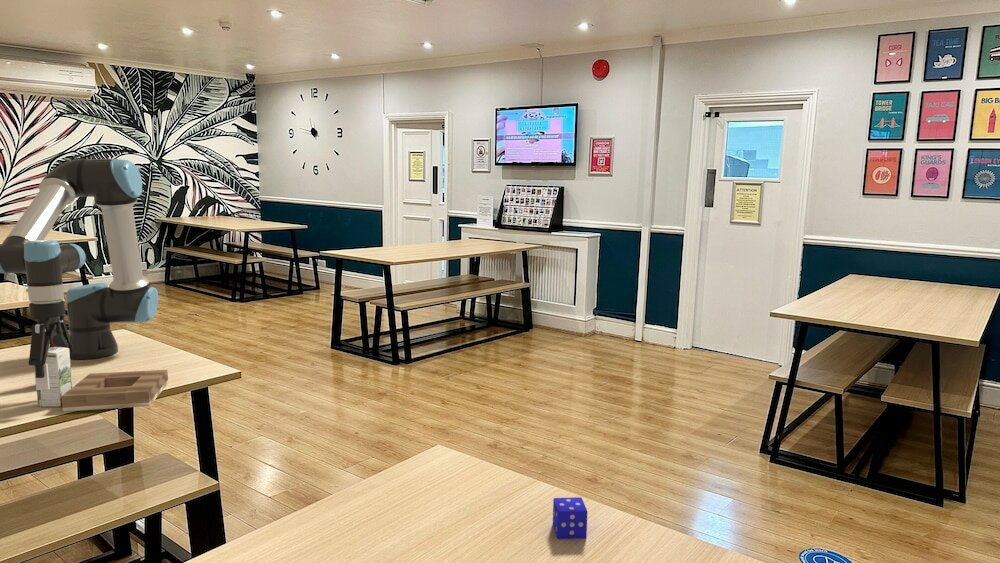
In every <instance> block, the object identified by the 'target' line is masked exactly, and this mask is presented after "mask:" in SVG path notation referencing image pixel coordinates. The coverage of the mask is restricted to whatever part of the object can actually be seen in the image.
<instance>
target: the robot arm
mask: <svg viewBox="0 0 1000 563" xmlns="http://www.w3.org/2000/svg"><path fill="white" fill-rule="evenodd" d="M38 190H39V191H38V192H37V194H36V195H35V197H34V198H33V200H32V201H31V202H30V204H29V206H28V207H27V208H26V210H25V211H24V212H23V214H22V215H21V217H20V218H19V219H18V220H17V222H16V223H15V225H14V227H13V228H12V229H11V230H10V232H9V233H8V235H7V237H6V238H5V239H4V240H3V242H1V244H0V274H6V275H7V274H26V284H27V288H26V289H25V292H26V293H27V296H28V297H27V298H28V301H29V302H30V303H29V304H28V307H29V308H28V310H29V316H30V318H32V319H37V324H32V325H31V341H30V348H29V349H30V350H29V357H28V365H29V366H33V372H34V380H35V389H36V391H37V390H49V389H50V386H49V375H48V364H45V362H46V358H47V353H48V349H49V346H50V341H51V340H53V342H54V344H55V345H56V347H64V348H69V352H70V360H92V359H97V358H98V359H99V358H104V357H105V358H106V357H109V356H112V355H115V354H116V353H118V352H119V346H118V345H119V344H118V342H117V341H116V338H115V336H114V334H113V332H112V329H111V323H112V324H113V323H114V324H116V323H117V324H119V323H122V324H123V323H126V324H127V323H131V324H132V323H135V324H138V323H147V322H150V321H152V320H153V318H154V317H155V315H156V313H157V309H158V305H159V292H158V290H157V288H156V287H153V286H150V281H149V279H147V277H144V275H143V274H144V272H143V267H142V261H141V260H142V259H141V254H140V246H139V240H138V233H137V227H136V220H135V214H134V206H135V204H136V203H137V202H138V198H139V197H140V196H142V194H143V180H142V176H141V172H140V170H139V168H138V167H137V166H136V165H135V163H133V162H132V161H130V160H128V159H120V158H119V159H118V158H75V159H72V160H71V159H70V160H68V161H66V162H64V163H63V162H62V163H60V165H58V166H56V167H55V168H53V169H52V170H50V171H49V172H48V173H47V174H46V175H45V176H44V177H43V179H42V180H41V181H40V182H39V186H38ZM81 197H87V198H89V197H90V198H91V197H92V198H93V200H94V204H95V205H96V206H97V207H99V208H100V209H101V212H102V218H103V219H102V220H103V226H104V231H105V237H106V242H107V248H108V255H109V261H110V266H111V274H112V279H113V280H112V281H111V282H110V284H107V283H106V282H97V283H90V284H85V285H84V284H83V285H80V286H75V287H72V288H70V289H68V290H67V291H66V299H65V291H64V290H65V289H64V283H63V282H64V281H63V274H67V273H73V272H75V271H76V270H79V269H81V268H82V267H83V266H84V264H85V263H86V259H87V257H86V256H87V255H86V253H85V250H84V249H83V248H82V247H81V246H79V245H78V244H75V243H62V244H60V243H59V242H58V241H57V240H54V239H45V238H46V237H47V235H48V234H49V233H50V231H51V229H52V228H53V226H54V225H55V223H56V222H57V220H58V219H59V217H60V216H61V214H62V212H63V211H64V209H65V208H66V206H67V205H71V204H72V203H73V202H75V200H76V199H77V198H81ZM63 299H65V300H66V302H65V301H64V300H63ZM65 304H66V305H65ZM66 309H67V310H66ZM66 311H67V319H68V320H67V321H68V322H67V323H68V327H67V325H66V320H65V315H66Z"/></svg>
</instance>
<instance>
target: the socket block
mask: <svg viewBox="0 0 1000 563" xmlns="http://www.w3.org/2000/svg"><path fill="white" fill-rule="evenodd" d="M168 372H169V371H168V369H156V370H155V369H151V370H135V371H134V370H133V371H116V372H115V371H114V372H112V371H111V372H98V373H97V372H96V373H89V374H87V375H86V376H85V377H83V378H82V379H81V380H80V381H79V382H78V383H76V384H75V385H74V386H72V388H71V389H70V390H69V391H67V392H66V393H65V394H64V395H62V406H61V407H62V412H75V411H76V412H77V411H79V412H80V411H93V410H108V409H123V408H125V409H126V408H141V407H150V406H151V405H153V403H154V402H155V400H156V399H157V398H158V396H159V395H160V394H161V393H162V392H163V390H164V389H165V388H166V387H167V385H168V384H169V376H168V375H169V373H168Z"/></svg>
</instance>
